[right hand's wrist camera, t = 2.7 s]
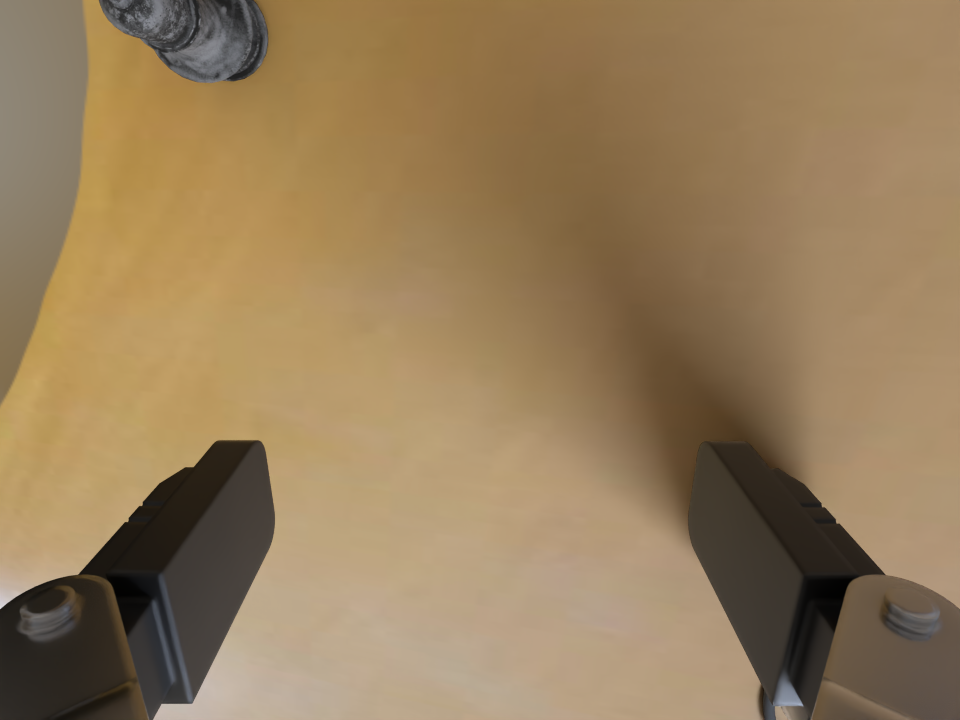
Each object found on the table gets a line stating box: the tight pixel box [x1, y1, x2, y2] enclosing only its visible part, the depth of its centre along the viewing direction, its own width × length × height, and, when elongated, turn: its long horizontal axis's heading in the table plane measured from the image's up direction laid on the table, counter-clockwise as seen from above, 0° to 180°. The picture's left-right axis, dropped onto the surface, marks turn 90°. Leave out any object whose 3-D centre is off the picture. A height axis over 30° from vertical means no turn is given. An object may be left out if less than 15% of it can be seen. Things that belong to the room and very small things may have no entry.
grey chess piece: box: [99, 0, 268, 83], centre depth 30 cm, size 6×6×12 cm
